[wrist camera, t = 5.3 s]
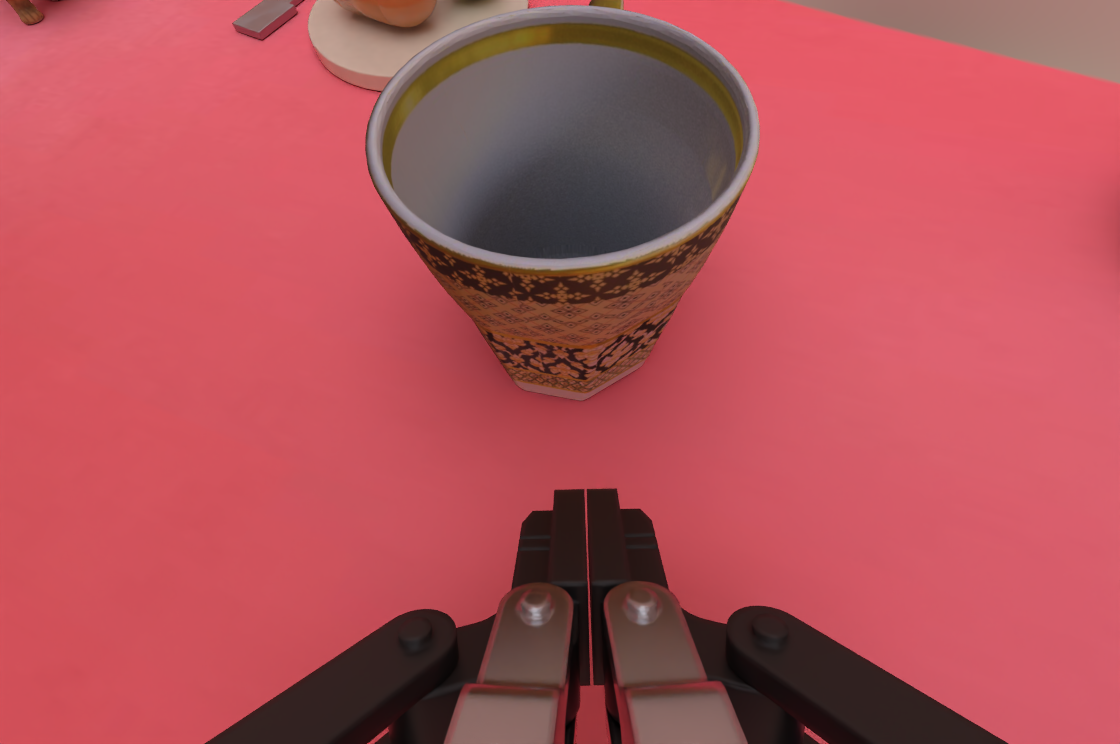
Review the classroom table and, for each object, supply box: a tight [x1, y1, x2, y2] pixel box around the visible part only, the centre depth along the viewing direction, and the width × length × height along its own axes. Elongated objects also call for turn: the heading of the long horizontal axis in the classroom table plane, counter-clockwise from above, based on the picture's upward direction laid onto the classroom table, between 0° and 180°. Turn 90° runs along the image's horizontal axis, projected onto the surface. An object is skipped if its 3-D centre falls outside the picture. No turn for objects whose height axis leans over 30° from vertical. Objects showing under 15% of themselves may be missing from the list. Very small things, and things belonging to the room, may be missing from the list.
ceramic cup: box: [365, 0, 760, 401], centre depth 19 cm, size 13×10×10 cm
